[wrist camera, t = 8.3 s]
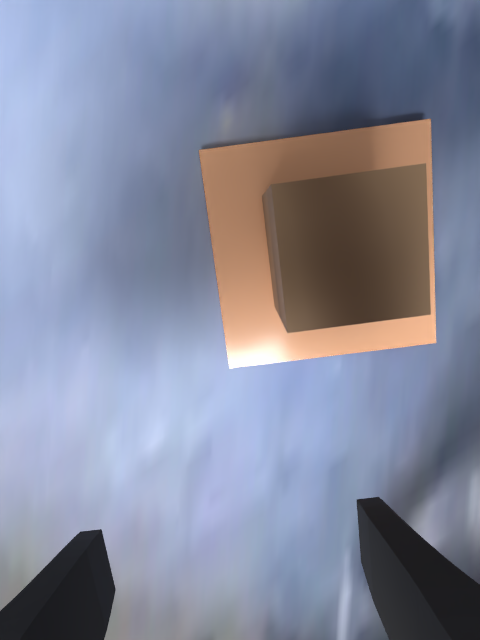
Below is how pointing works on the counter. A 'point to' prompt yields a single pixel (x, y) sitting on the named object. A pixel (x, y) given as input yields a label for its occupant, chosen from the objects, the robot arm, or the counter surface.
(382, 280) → the cube
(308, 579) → the counter surface
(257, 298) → the plate
